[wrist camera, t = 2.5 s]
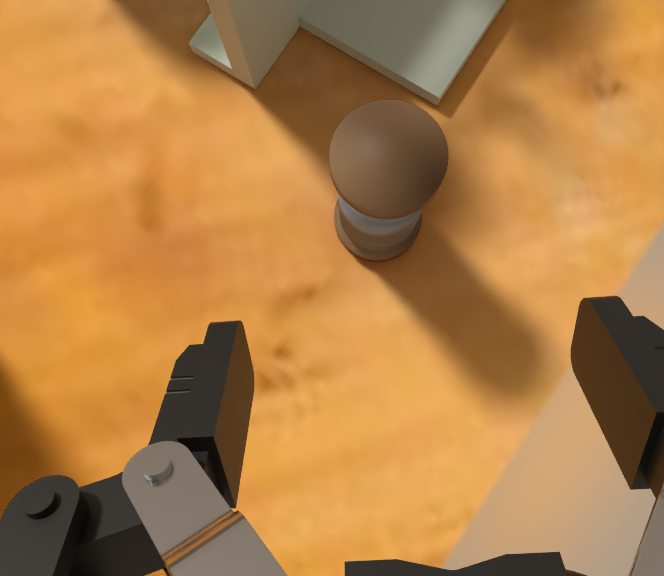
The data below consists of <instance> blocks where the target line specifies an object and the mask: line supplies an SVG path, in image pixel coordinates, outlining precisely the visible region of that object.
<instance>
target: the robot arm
mask: <svg viewBox="0 0 664 576" xmlns="http://www.w3.org/2000/svg"><path fill="white" fill-rule="evenodd" d="M571 363H572V368H573V371H574V374H575V376H576V378H577V380H578V382H579V384H580V386H581V388H582V390H583V392H584V394H585V397H586V399H587V401H588V403H589V405H590V407H591V409H592V411H593V413H594V415H595V417H596V419H597V421H598V423H599V425H600V428H601V430H602V432H603V434H604V436H605V438H606V440H607V442H608V444H609V446H610V448H611V450H612V452H613V454H614V457H615V458H616V461H617V463H618V465H619V467H620V469H621V471H622V473H623V475H624V477H625V479H626V481H627V483H628V485H629V487H630V489H649V488H650V489H651V490H652V492H653V494H654V496H655V498H656V500H655V503H654V505H653V508H652V511H651V513H650V516H649V519H648V522H647V525H646V527H645V530H644V533H643V536H642V539H641V541H640V544H639V547H638V550H637V553H636V555H635V558H634V561H633V564H632V566H631V569H630V572H629V575H628V576H664V330H663V329H662V328H660V327H659V326H657V325H656V324H654V323H653V322H651V321H650V320H649V319H647V318H646V317H644V316H634V317H633V316H632V314H631V312H630V311H629V310H628V308H627V307H626V305H625V304H624V302H623V301H622V299H621V298H620V297H618V296H607V297H592V298H583V299H582V300H581V302H580V305H579V310H578V315H577V320H576V325H575V330H574V335H573V340H572V345H571ZM166 391H167V393H166V394H165V396H164V399H163V402H162V405H161V408H160V412H159V415H158V418H157V421H156V424H155V427H154V430H153V433H152V436H151V439H150V442H149V445H148V446H147V447H145V448H143V449H141V450H140V451H138V452H137V453H136V454H135V455H134V456H133V457H132V458H131V459H130V460H129V462H128V463H127V464H126V466H125V468H124V471H123V472H121V473H119V474H117V475H115V476H112V477H110V478H107V479H104V480H101V481H98V482H95V483H92V484H88V485H85V486H82V487H78V485H77V483H76V482H75V481H74V480H73V479H71V478H69V477H66V476H61V475H53V476H48V477H44V478H41V479H39V480H36V481H34V482H32V483H31V484H29V485H27V486H26V487H25V488H23V489H22V490H21V491H20V492H18V493H17V494H16V495H15V496H14V498H13V499H12V500H11V501H10V503H9V504H8V506H7V508H6V509H5V512H4V514H3V516H2V518H1V520H0V576H144V575H147V574H150V573H152V572H155V571H158V570H160V569H163V570H164V572H165V574H166V576H287V574H286V573H285V572H284V570H283V569H282V568H281V566H280V565H279V563H278V562H277V561H276V559H275V558H274V556H273V555H272V554H271V552H270V551H269V550H268V548H267V547H266V545H265V544H264V543H263V541H262V540H261V539H260V537H259V536H258V534H257V533H256V532H255V530H254V529H253V528H252V526H251V525H250V523H249V522H248V521H247V519H246V518H245V517H244V516H243V515H242V514H241V513H240V512H239V511H236V512H235V513H234V512H233V511H232V509H231V508H236V504H237V497H238V491H239V484H240V478H241V471H242V465H243V459H244V452H245V446H246V439H247V433H248V426H249V420H250V414H251V407H252V401H253V394H254V371H253V365H252V361H251V357H250V352H249V348H248V343H247V339H246V335H245V330H244V326H243V323H242V322H241V321H226V322H212V323H210V324H209V326H208V329H207V333H206V336H205V340H204V343H203V344H197V345H189V346H188V347H187V348H186V350H185V351H184V352H183V353H182V354H181V355H180V356H179V358H178V359H177V360H176V362H175V366H174V369H173V372H172V375H171V380H170V381H169V384H168V387H167V390H166ZM345 576H587V575H584V574H580V573H577V572H574V571H570V570H566V569H565V567H564V564H563V561H562V558H561V555H560V552H548V553H527V554H526V553H525V554H506V555H503V556H500V557H496V558H493V559H490V560H487V561H484V562H480V563H478V564H474V565H471V566H468V567H465V568H462V569H458V570H446V569H441V568H436V567H431V566H427V565H422V564H417V563H412V562H407V561H402V560H398V559H393V560H371V561H349V562H345Z"/></svg>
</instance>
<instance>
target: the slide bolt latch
mask: <svg viewBox="0 0 664 576" xmlns="http://www.w3.org/2000/svg"><path fill="white" fill-rule="evenodd" d="M505 2H506V0H207V3H208V6H209V8H210V11H211V13H210V14H209V16H208V17H207V18H206V20H205V21H204V22H203V24H202V25H201V26H200V28H199V29H198V31H197V32H196V33H195V35H194V36H193V37H192V39H191V40H190V41H189V45H190V47H191V50H192V52H193V53H195V54H197V55H198V56H200V57H202V58H203V59H205V60H207V61H208V62H210V63H212V64H213V65H215V66H217V67H218V68H220V69H222V70H223V71H225V72H227V73H228V74H230V75H232V76H233V77H235V78H237V79H238V80H240V81H242V82H243V83H245V84H247V85H248V86H250V87H252V88H253V89H255V90H256V88H257V87H258V85H259V84H260V82H261V81H262V80H263V78H264V77H265V75H266V74H267V73H268V71H269V70H270V68H271V67H272V65H273V64H274V63H275V61H276V60H277V58H278V57H279V56H280V54H281V53H282V51H283V50H284V48H285V47H286V46H287V44H288V43H289V41H290V40H291V39H292V37H293V36H294V34H295V33H296V32H297V30H298V29H299V27H301V28H303V29H305V30H307V31H308V32H310V33H312V34H313V35H315V36H317V37H319V38H320V39H322V40H324V41H326V42H327V43H329V44H331V45H332V46H334V47H336V48H338V49H339V50H341V51H343V52H345V53H346V54H348V55H350V56H351V57H353V58H355V59H357V60H358V61H360V62H362V63H364V64H365V65H367V66H369V67H370V68H372V69H374V70H376V71H377V72H379V73H381V74H383V75H384V76H386V77H388V78H389V79H391V80H393V81H395V82H396V83H398V84H400V85H402V86H403V87H405V88H407V89H408V90H410V91H412V92H414V93H415V94H417V95H419V96H420V97H422V98H424V99H426V100H427V101H429V102H431V103H433V104H434V105H436V106H437V105H438V104H439V102H440V101H441V99H442V98H443V96H444V95H445V93H446V92H447V90H448V89H449V87H450V86H451V84H452V83H453V81H454V79H455V78H456V76H457V75H458V73H459V72H460V70H461V69H462V67H463V66H464V64H465V63H466V61H467V60H468V58H469V57H470V55H471V54H472V52H473V51H474V49H475V48H476V46H477V44H478V43H479V41H480V40H481V38H482V37H483V35H484V34H485V32H486V31H487V29H488V28H489V26H490V25H491V23H492V22H493V20H494V19H495V17H496V16H497V14H498V12H499V11H500V9H501V8H502V6H503V5H504V3H505Z"/></svg>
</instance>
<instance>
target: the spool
mask: <svg viewBox="0 0 664 576" xmlns="http://www.w3.org/2000/svg"><path fill="white" fill-rule="evenodd" d="M329 163H330V172H331V177H332V180H333V183H334V186H335V188H336V190H337V191H338V196H339V198H338V201H337V203H336V207H335V227H336V231H337V235H338V237H339V239H340V241H341V242H342V244H343V245H344V246H345V248H346V249H347V250H348V251H349V252H351V253H352V254H354V255H355V256H357V257H359V258H361V259H364V260H368V261H374V262H382V261H388V260H391V259H394V258H396V257H398V256H400V255H401V254H403V253H404V252H405V251H407V250H408V248H409V247H410V246H411V245H412V244H413V242H414V240H415V239H416V237H417V234H418V232H419V229H420V226H421V220H422V209H423V207H424V206H425V205H426V204H427V203H428V202H429V201H430V200H431V199H432V198H433V197H434V195H435V194H436V192H437V191H438V189H439V187H440V185H441V183H442V180H443V178H444V176H445V173H446V170H447V165H448V147H447V142H446V139H445V136H444V134H443V132H442V130H441V128H440V127H439V125H438V124H437V122H436V121H435V120H434V119H433V118H432V117H431V116H430V115H429V114H428V113H427V112H426V111H424V110H423V109H421V108H420V107H418V106H416V105H414V104H411V103H408V102H405V101H401V100H393V99H383V100H376V101H372V102H369V103H366V104H364V105H361V106H359V107H358V108H356V109H354V110H353V111H352V112H350V113H349V114H348V115H347V116H346V117H345V118H344V119H343V120H342V121H341V123H340V124H339V125H338V127H337V129H336V130H335V132H334V135H333V137H332V140H331V144H330V150H329Z"/></svg>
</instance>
